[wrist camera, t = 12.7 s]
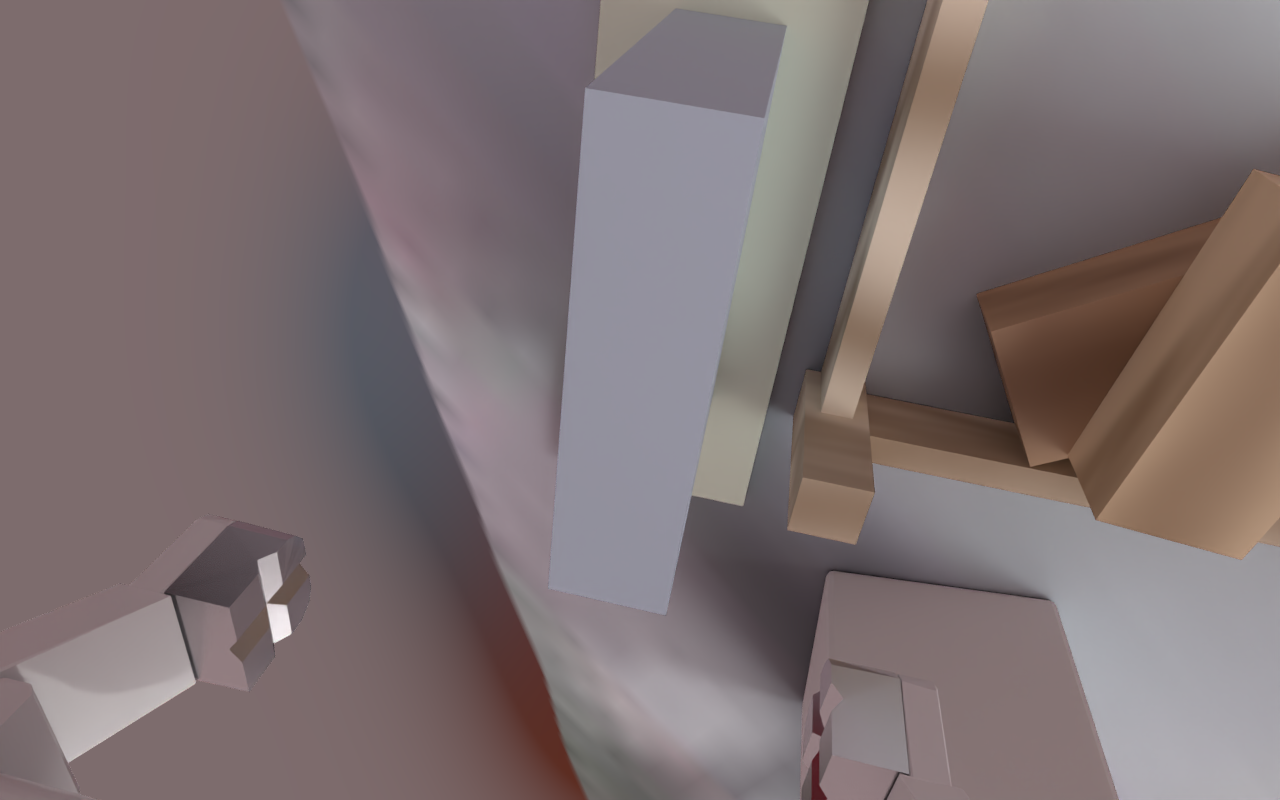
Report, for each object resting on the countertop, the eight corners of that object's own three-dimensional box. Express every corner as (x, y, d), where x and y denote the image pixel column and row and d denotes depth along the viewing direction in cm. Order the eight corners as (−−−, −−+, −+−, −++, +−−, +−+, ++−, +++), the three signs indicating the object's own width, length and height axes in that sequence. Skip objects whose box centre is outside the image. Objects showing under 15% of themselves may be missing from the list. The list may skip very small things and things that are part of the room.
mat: (744, 496, 31) (742, 506, 30) (567, 458, 31) (563, 467, 31) (886, -76, 20) (887, -75, 20) (614, -115, 21) (609, -115, 20)
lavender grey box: (786, 25, 21) (764, 118, 13) (712, 398, 28) (666, 615, 20) (675, 8, 22) (585, 88, 13) (628, 381, 28) (548, 588, 20)
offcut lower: (1414, 311, 23) (1485, 362, 21) (1011, 413, 27) (1030, 466, 25) (1409, 150, 21) (1487, 185, 19) (974, 287, 25) (990, 331, 23)
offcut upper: (1420, 211, 19) (1510, 260, 17) (1198, 490, 24) (1241, 559, 22) (1253, 169, 19) (1317, 211, 17) (1067, 455, 24) (1095, 519, 22)
